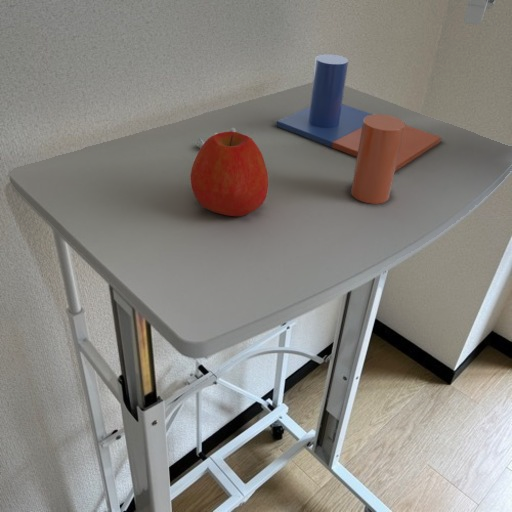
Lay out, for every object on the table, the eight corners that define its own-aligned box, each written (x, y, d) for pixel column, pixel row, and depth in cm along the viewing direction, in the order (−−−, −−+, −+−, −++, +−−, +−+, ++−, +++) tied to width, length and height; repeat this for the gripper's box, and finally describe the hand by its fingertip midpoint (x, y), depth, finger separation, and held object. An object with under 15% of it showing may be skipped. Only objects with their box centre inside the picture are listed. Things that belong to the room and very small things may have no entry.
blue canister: (345, 122, 99) (354, 59, 92) (327, 130, 95) (336, 66, 89) (320, 113, 101) (327, 52, 95) (302, 121, 98) (308, 58, 91)
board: (440, 142, 96) (441, 137, 95) (394, 171, 86) (396, 166, 85) (327, 104, 108) (328, 99, 108) (276, 126, 98) (276, 120, 98)
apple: (187, 224, 71) (185, 149, 65) (195, 185, 79) (194, 115, 73) (266, 228, 71) (272, 153, 65) (266, 189, 79) (271, 120, 73)
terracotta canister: (396, 194, 80) (412, 122, 74) (376, 208, 77) (391, 134, 70) (363, 181, 83) (377, 111, 76) (343, 193, 79) (355, 121, 73)
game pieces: (200, 151, 88) (200, 140, 87) (193, 147, 89) (193, 135, 88) (240, 140, 92) (240, 129, 91) (232, 136, 94) (232, 125, 93)
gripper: (550, -137, 45) (496, 39, 53) (560, -133, 60) (517, 3, 68) (471, -142, 47) (431, 28, 55) (499, -137, 62) (465, -4, 70)
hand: (479, 14), depth 62 cm, fingers open, 8 cm apart
